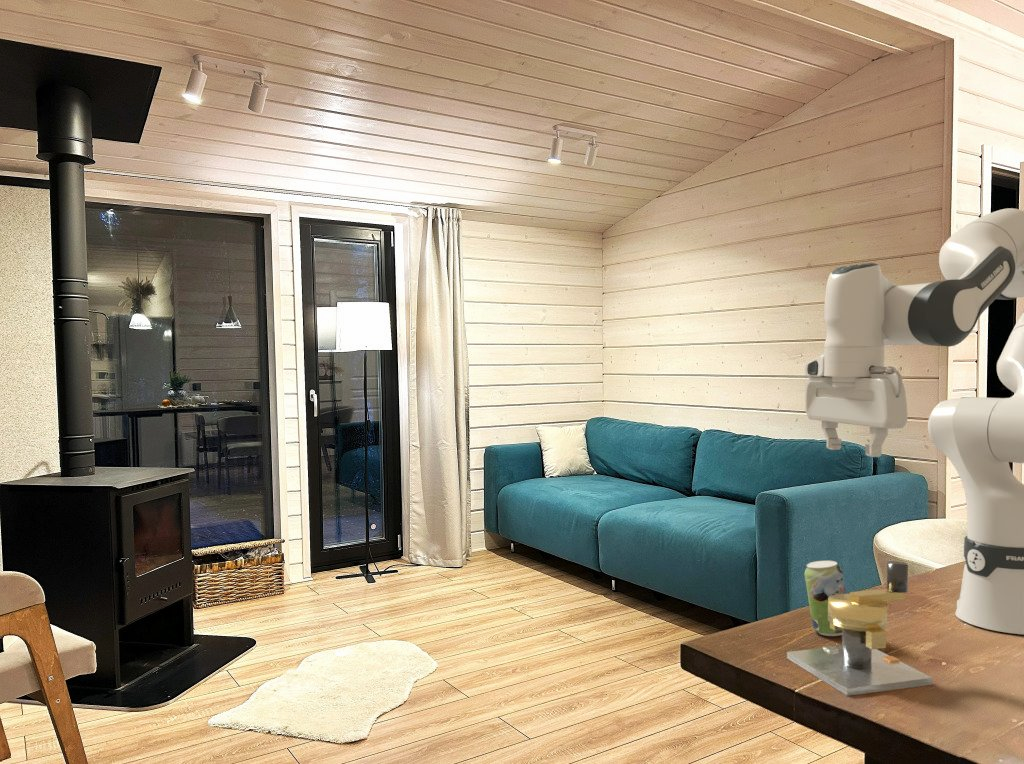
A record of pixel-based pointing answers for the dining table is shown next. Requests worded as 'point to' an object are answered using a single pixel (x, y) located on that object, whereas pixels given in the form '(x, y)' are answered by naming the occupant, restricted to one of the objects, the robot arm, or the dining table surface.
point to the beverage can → (823, 592)
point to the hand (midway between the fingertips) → (852, 452)
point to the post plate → (858, 677)
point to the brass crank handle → (869, 606)
